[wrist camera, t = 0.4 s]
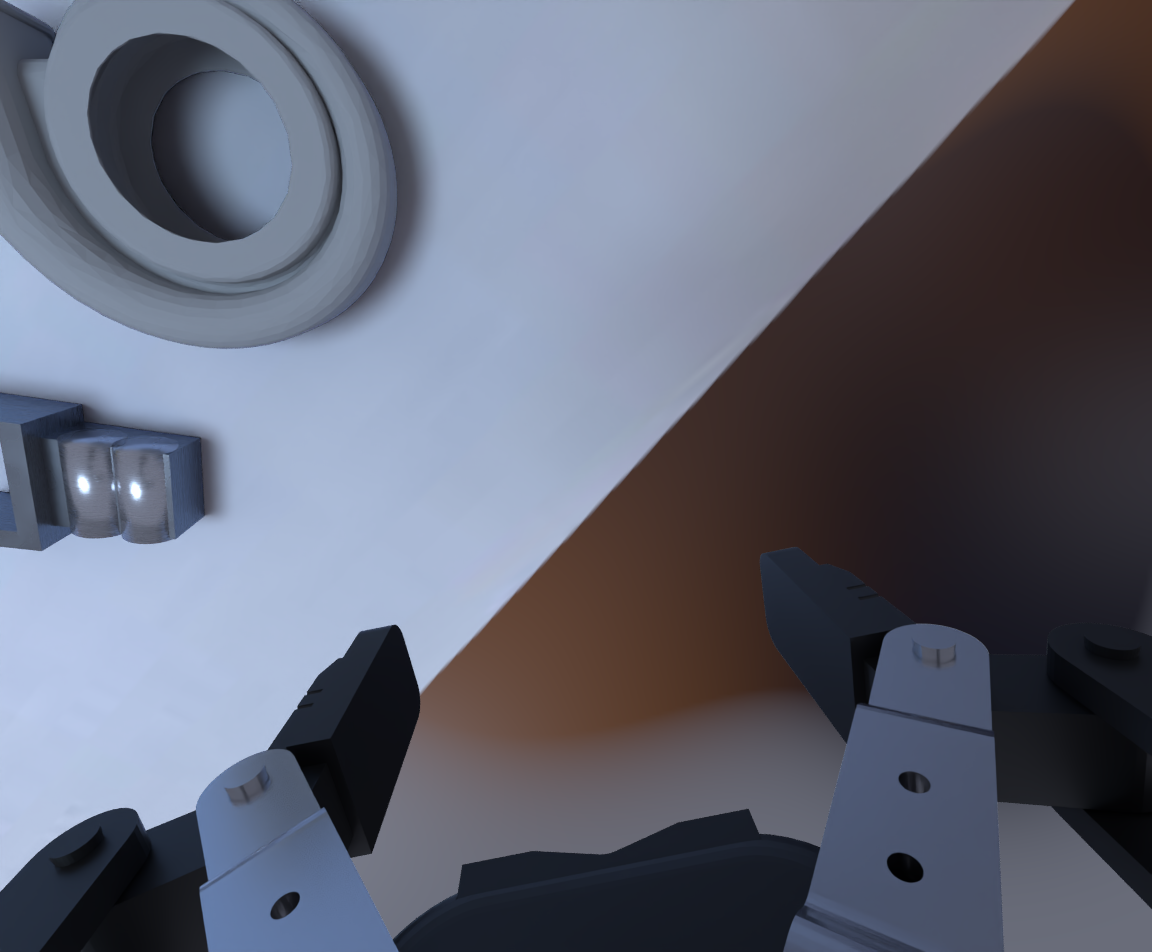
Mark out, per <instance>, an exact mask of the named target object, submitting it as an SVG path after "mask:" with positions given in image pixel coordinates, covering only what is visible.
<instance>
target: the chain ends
mask: <svg viewBox="0 0 1152 952" xmlns="http://www.w3.org/2000/svg"><path fill="white" fill-rule="evenodd" d="M0 442H1V447H2V453H3V458H4V463H5V469H6V474H7V480H8V485H9V490H10V493H7V492H0V547H9V548H18V549H28V550H37V551H43V550H44V549H46V548H48V547H49V546H51V545H53V544H54V543H56V542H58V541H59V540H61V539H63V538H64V537H66V536H68V535H69V534H71V533H72V534H74V535H76V536H79V537H83V538H106V537H112V536H117V535H121V534H122V538H123V539H124V540H126V541H128V542H132V543H137V544H154V543H161V542H165V541H169V540H172V539H176V538H178V537H179V536H180V535H181V534H183V533H184V532H185V531H186V530H188V529H189V528H190V527H191V526H193V525H194V524H195V523H196V522H198V521H199V520H200V519H201V518H203V517H204V498H203V479H202V461H201V443H200V438H198V437H191V436H184V435H176V434H169V433H162V432H155V431H147V430H140V429H133V428H126V427H118V426H111V425H104V424H97V423H89V422H84V418H83V410H82V404H75V403H68V402H61V401H54V400H47V399H40V398H33V397H26V396H19V395H12V394H5V393H0Z"/></svg>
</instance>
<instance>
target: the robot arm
mask: <svg viewBox="0 0 1152 952" xmlns="http://www.w3.org/2000/svg"><path fill="white" fill-rule="evenodd" d="M760 569H761V578H762V587H763V596H764V605H765V613H766V621H767V626H768V629H769V633H770V636H771V638H772V641H773V643H774V645H775V646H776V648H777V650H778V651H779V652H780V654H781V655H782V656H783V658H784V659H785V660H786V662H787V663H788V664H789V666H790V667H791V669H792V670H793V671H794V673H795V674H796V675H797V677H798V678H799V680H800V681H801V682H802V684H803V685H804V686H805V688H806V689H807V690H808V692H809V693H810V695H811V696H812V697H813V699H814V700H815V701H816V703H817V704H818V705H819V707H820V708H821V710H822V711H823V712H824V714H825V715H826V716H827V718H828V719H829V720H830V722H831V723H832V724H833V726H834V727H835V729H836V730H837V731H838V733H839V734H840V735H841V737H842V738H843V740H844V741H845V742H846V744H847V745H846V749H845V753H844V757H843V761H842V765H841V769H840V772H839V776H838V780H837V785H836V788H835V792H834V796H833V800H832V804H831V808H830V811H829V815H828V820H827V823H826V827H825V831H824V835H823V839H822V843H821V847H818V846H815V845H812V844H810V843H807V842H803V841H800V840H796V839H792V838H789V837H783V836H776V835H770V834H759V832H758V830H757V828H756V825H755V823H754V821H753V819H752V816H751V814H750V811H749V809H745V810H740V811H735V812H730V813H725V814H720V815H714V816H709V817H704V818H699V819H694V820H689V821H684V822H679V823H676V824H674V825H672V826H670V827H667V828H665V829H663V830H661V831H659V832H657V833H654V834H652V835H650V836H648V837H646V838H644V839H641V840H639V841H637V842H635V843H633V844H631V845H628V846H626V847H624V848H622V849H619V850H617V851H615V852H612V853H609V854H602V855H598V854H578V853H559V852H541V851H539V852H538V851H531V852H525V853H520V854H516V855H510V856H506V857H500V858H495V859H490V860H485V861H480V862H474V863H469V864H464V865H462V870H461V877H460V883H459V889H458V893H457V894H455V895H453V896H451V897H449V898H447V899H445V900H443V901H442V902H440V903H438V904H437V905H435V906H433V907H432V908H430V909H429V910H427V911H426V912H425V913H423V914H422V915H420V916H419V917H418V918H416V919H415V920H414V921H413V922H411V923H410V924H409V925H408V926H407V927H406V928H404V929H403V930H402V931H401V932H400V933H399V934H398V935H397V936H396V937H395V938H394V939H393V940H392V938H391V936H390V934H389V932H388V930H387V928H386V926H385V924H384V922H383V920H382V918H381V916H380V914H379V912H378V911H377V909H376V907H375V905H374V903H373V901H372V899H371V897H370V895H369V893H368V891H367V889H366V887H365V885H364V883H363V881H362V879H361V877H360V876H359V874H358V872H357V870H356V868H355V866H354V864H353V862H352V860H351V858H352V857H357V856H362V855H367V854H372V851H373V848H374V845H375V843H376V840H377V837H378V834H379V831H380V828H381V825H382V822H383V819H384V816H385V814H386V811H387V808H388V805H389V802H390V799H391V796H392V793H393V790H394V787H395V784H396V781H397V779H398V775H399V773H400V770H401V767H402V764H403V761H404V758H405V755H406V752H407V749H408V746H409V744H410V740H411V738H412V735H413V732H414V729H415V726H416V723H417V720H418V717H419V713H420V693H419V688H418V684H417V681H416V677H415V674H414V671H413V667H412V664H411V661H410V657H409V654H408V651H407V647H406V644H405V641H404V637H403V634H402V632H401V630H400V628H399V627H398V626H397V625H391V626H386V627H381V628H375V629H370V630H365V631H361V632H360V633H359V634H358V635H357V637H356V638H355V640H354V641H353V643H352V645H351V646H350V648H349V649H348V651H347V652H346V654H345V655H344V657H343V658H339V659H337V660H336V661H335V662H334V663H332V664H331V665H330V666H329V667H328V668H326V669H325V670H324V671H323V672H322V673H320V674H319V675H318V677H317V678H316V680H315V681H314V683H313V684H312V685H311V687H310V688H309V690H308V691H307V695H305V696H304V697H303V699H302V700H301V702H300V703H299V705H298V706H297V707H298V709H297V710H294V712H293V713H292V715H291V716H290V718H289V719H288V721H287V722H286V724H285V725H284V727H283V728H282V729H281V731H280V732H279V734H278V735H277V737H276V738H275V740H274V741H273V743H272V744H271V746H270V747H269V749H268V750H267V751H263V752H260V753H257V754H254V755H252V756H250V757H247V758H245V759H243V760H241V761H239V762H238V763H236V764H234V765H233V766H231V767H230V768H228V769H227V770H225V771H224V772H223V773H221V774H220V775H219V776H218V777H217V778H215V779H214V780H213V781H212V782H211V783H210V784H209V785H208V786H207V788H206V789H205V790H204V791H203V793H202V794H201V796H200V798H199V799H198V801H197V805H196V810H195V811H193V812H190V813H188V814H186V815H183V816H181V817H178V818H176V819H173V820H171V821H169V822H166V823H164V824H161V825H159V826H156V827H154V828H151V829H149V830H147V831H146V830H145V828H144V826H143V824H142V822H141V820H140V818H139V816H138V814H137V812H136V811H135V810H133V809H130V808H119V809H113V810H110V811H106V812H104V813H101V814H98V815H96V816H93V817H91V818H89V819H87V820H85V821H83V822H81V823H79V824H77V825H76V826H74V827H72V828H71V829H69V830H67V831H66V832H64V833H63V834H61V835H60V836H58V837H57V838H55V839H54V840H53V841H52V842H50V843H49V844H48V845H46V846H45V847H44V848H43V849H42V850H40V851H39V852H38V853H37V854H36V855H35V856H34V857H33V858H32V859H31V860H30V861H29V862H28V863H27V864H26V865H25V866H24V867H23V868H22V869H21V871H20V872H19V873H18V874H17V875H16V876H15V877H14V878H13V879H12V880H11V881H10V882H9V883H8V884H7V885H6V886H5V888H4V889H3V890H2V891H1V892H0V952H1004V936H1003V916H1002V894H1001V871H1000V850H999V828H998V807H997V802H1009V803H1020V804H1033V805H1044V806H1052V808H1053V809H1054V810H1055V811H1056V812H1057V813H1058V814H1059V815H1060V816H1061V817H1062V818H1063V819H1064V820H1065V821H1066V822H1067V823H1068V824H1069V825H1070V826H1071V827H1072V828H1073V829H1074V830H1075V831H1076V832H1077V833H1078V834H1079V835H1080V836H1081V838H1082V839H1084V841H1086V843H1087V844H1088V845H1089V846H1090V847H1091V848H1092V849H1093V850H1094V851H1095V852H1096V853H1097V854H1098V855H1099V856H1100V857H1101V858H1102V859H1103V860H1104V861H1105V862H1106V863H1107V864H1108V865H1109V866H1110V867H1111V868H1112V869H1113V870H1114V871H1115V872H1116V873H1117V874H1118V875H1119V876H1120V877H1121V878H1122V879H1123V880H1124V881H1125V882H1126V883H1127V884H1128V885H1129V886H1130V887H1131V888H1132V889H1133V890H1134V891H1135V892H1136V893H1137V894H1138V895H1139V896H1140V897H1141V899H1143V901H1144V902H1146V903H1147V905H1148V906H1149V907H1150V908H1151V909H1152V636H1149V635H1147V634H1144V633H1141V632H1138V631H1135V630H1131V629H1128V628H1123V627H1119V626H1113V625H1107V624H1099V623H1074V624H1067V625H1062V626H1060V627H1057V628H1055V629H1053V630H1052V631H1051V632H1050V633H1049V635H1048V638H1047V655H998V654H988V651H987V649H986V647H985V646H984V645H983V644H982V643H981V642H980V641H978V640H977V639H976V638H974V637H972V636H970V635H969V634H966V633H964V632H962V631H959V630H956V629H953V628H949V627H945V626H939V625H931V624H916V623H915V622H913V621H912V620H911V619H909V618H908V617H907V616H906V615H904V614H903V613H902V612H900V611H899V610H898V609H897V608H895V607H894V606H893V605H892V604H890V603H889V602H888V601H886V600H885V599H884V598H883V597H881V596H880V597H879V596H878V594H877V593H876V592H875V591H874V590H872V589H871V588H870V587H868V586H867V587H866V586H865V583H863V582H862V581H861V580H860V579H858V578H857V577H856V576H854V575H853V574H852V573H850V572H848V571H846V570H843V569H840V568H838V567H835V566H832V565H829V564H824V565H818V564H817V563H816V562H815V561H813V560H812V559H811V558H810V557H809V556H808V555H806V554H805V553H804V552H803V551H802V550H800V549H799V548H798V547H793V548H788V549H783V550H778V551H773V552H768V553H763V554H762V555H761V557H760Z"/></svg>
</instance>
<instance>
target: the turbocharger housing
mask: <svg viewBox="0 0 1152 952" xmlns="http://www.w3.org/2000/svg"><path fill="white" fill-rule="evenodd" d="M54 40H55V41H54ZM53 41H54V44H52V42H53ZM211 71H227V72H231V73H235V74H240V75H244V76H248V77H250V78H252V79H254V80H256V81H258V82H260V83H261V85H262V86H263V88H264V89H265V90H266V92H267V93H268V95H269V96H270V97H271V99H272V100H273V102H274V103H275V106H276V108H277V110H278V113H279V115H280V117H281V120H282V122H283V124H284V127H285V129H286V131H287V134H288V140H289V147H290V155H291V162H292V168H291V174H290V181H289V187H288V193H287V195H286V197H285V199H284V201H283V203H282V204H281V206H280V208H279V210H278V212H277V214H276V215H275V217H274V218H273V219H272V220H271V221H269V222H268V223H267V224H266V225H265V226H264V227H263V228H262V229H260V230H259V231H257V232H255V233H253V234H251V235H249V236H247V237H246V238H244V239H239V240H233V241H227V240H224V239H222V238H219V237H217V236H215V235H213V234H211V233H210V232H208V231H206V230H204V229H203V228H201V227H199V226H198V225H197V224H196V223H195V222H194V221H193V220H192V219H190V218H189V217H188V216H187V215H186V214H185V213H184V212H183V211H182V210H181V209H180V208H179V207H178V206H177V205H176V203H175V202H174V200H173V199H172V197H171V196H170V194H169V193H168V191H167V190H166V188H165V187H164V185H163V184H162V182H161V179H160V176H159V174H158V171H157V168H156V166H155V162H154V156H153V150H152V145H151V138H152V129H153V121H154V115H155V113H156V111H157V109H158V107H159V105H160V103H161V101H162V99H163V98H164V96H165V94H166V93H167V92H168V91H169V90H170V89H171V88H172V87H173V86H174V85H176V84H177V83H178V82H179V81H181V80H183V79H185V78H187V77H189V76H191V75H193V74H196V73H202V72H211ZM396 214H397V179H396V171H395V164H394V159H393V154H392V149H391V146H390V142H389V139H388V135H387V132H386V129H385V127H384V124H383V121H382V119H381V116H380V114H379V112H378V110H377V108H376V105H375V103H374V101H373V99H372V98H371V96H370V94H369V92H368V91H367V89H366V87H365V85H364V84H363V82H362V81H361V79H360V77H359V76H358V74H357V73H356V71H355V70H354V68H353V67H352V65H351V64H350V62H349V61H348V59H347V58H346V56H345V55H344V53H343V52H342V51H341V49H340V48H339V46H338V45H337V44H336V43H335V42H334V41H333V39H332V38H331V37H330V36H329V35H328V34H327V33H326V31H325V30H324V29H323V28H322V27H321V26H320V24H319V23H318V22H316V21H315V20H314V19H313V18H312V17H311V16H310V15H309V14H308V13H307V12H306V11H305V10H304V9H302V8H301V7H300V6H299V5H297V4H296V3H295V2H294V1H292V0H75V1H74V2H73V3H72V5H71V6H70V7H69V9H68V10H67V12H66V13H65V15H64V18H63V20H62V22H61V24H60V26H59V29H58V31H57V34H55V32H54V30H53V29H52V28H51V27H50V26H49V25H47V24H46V23H45V22H43V21H41V20H39V19H37V18H35V17H33V16H32V15H30V14H28V13H26V12H24V11H22V10H21V9H19V8H17V7H15V6H13V5H11V4H9V3H8V2H6V1H4V0H0V234H1V236H2V237H3V238H4V239H5V240H6V241H7V242H8V243H9V244H10V245H11V246H12V247H13V248H14V249H15V250H16V251H17V252H18V253H19V254H20V255H21V256H22V257H23V258H24V259H25V260H27V261H28V262H29V263H30V264H31V265H32V266H34V267H35V268H36V269H37V270H38V271H39V272H40V273H42V274H43V275H44V276H45V277H46V278H47V279H49V280H50V281H51V282H52V283H54V284H55V285H56V286H58V287H59V288H61V289H62V290H63V291H65V292H66V293H67V294H69V295H70V296H72V297H73V298H74V299H76V300H77V301H79V302H81V303H83V304H84V305H86V306H88V307H89V308H91V309H93V310H95V311H96V312H98V313H100V314H101V315H103V316H105V317H107V318H109V319H112V320H114V321H116V322H118V323H120V324H122V325H125V326H127V327H129V328H132V329H134V330H137V331H140V332H142V333H145V334H148V335H151V336H155V337H158V338H161V339H165V340H168V341H172V342H177V343H181V344H186V345H192V346H199V347H207V348H221V349H227V348H249V347H257V346H263V345H269V344H272V343H276V342H280V341H284V340H286V339H289V338H292V337H295V336H298V335H300V334H302V333H305V332H307V331H309V330H312V329H314V328H316V327H318V326H320V325H322V324H325V323H327V322H328V321H330V320H332V319H333V318H335V317H337V316H338V315H339V314H341V313H342V312H343V311H345V310H346V309H348V308H349V307H350V306H351V305H352V304H353V303H354V302H355V301H356V300H357V299H358V298H359V297H360V296H361V295H362V294H363V293H364V292H365V291H366V289H367V288H368V287H369V285H370V284H371V282H372V281H373V280H374V278H375V276H376V274H377V273H378V271H379V269H380V267H381V265H382V263H383V262H384V259H385V256H386V254H387V251H388V249H389V246H390V243H391V240H392V236H393V232H394V227H395V220H396Z"/></svg>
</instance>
